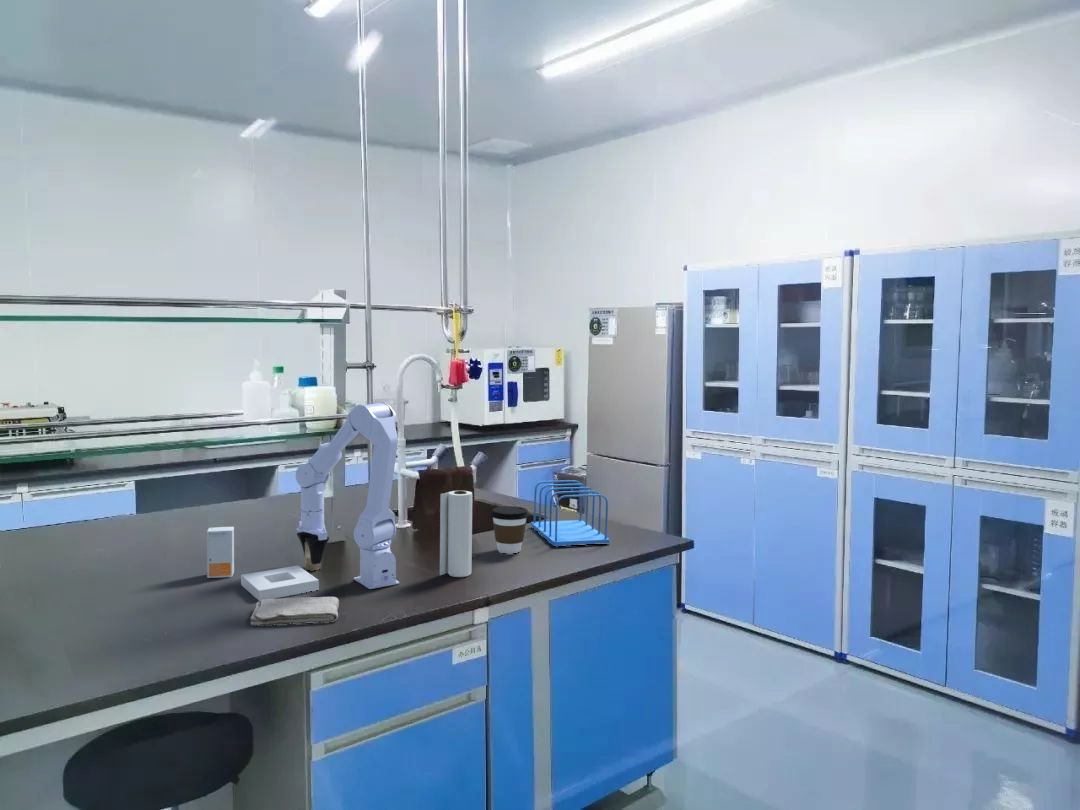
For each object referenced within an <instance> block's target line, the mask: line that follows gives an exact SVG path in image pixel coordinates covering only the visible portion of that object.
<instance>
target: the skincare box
mask: <svg viewBox="0 0 1080 810" xmlns="http://www.w3.org/2000/svg"><path fill="white" fill-rule="evenodd" d="M234 573H235V526H217V527H216V526H215V527H208V529H207V530H206V578H207V579H211V578H212V579H215V578H216V579H217V578H219V579H221V578H233V575H234Z"/></svg>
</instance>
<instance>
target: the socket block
mask: <svg viewBox="0 0 1080 810" xmlns="http://www.w3.org/2000/svg"><path fill="white" fill-rule="evenodd" d="M240 585H241V586H242V587H243V588H244V589H245V590H246V591H247V592H248V593H250V594H251V596H253V597H254V598H255V599H257V602H260V601H261V600H263V599H281V598H284V597H285V598H286V597H290V595H291V596H294V595H295V596H296V595H301V593H302V594H307V593H311V592H310V591H312V592H317V591H316V590H318V591H319V590H320V580H319V579H318V578H316V577H315V576H313V574H311V573H309V571H307V570H305V568H302V567H301V566H300V565H293V566H287V567H281V568H276V569H275V568H274V569H268V570H263V571H256V572H250V573H245V574H244V573H242V574H240ZM306 592H307V593H306Z"/></svg>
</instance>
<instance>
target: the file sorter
mask: <svg viewBox="0 0 1080 810" xmlns="http://www.w3.org/2000/svg"><path fill="white" fill-rule="evenodd" d="M551 483H552V484H551ZM556 483H557V484H556ZM541 484H544V485H543V486H542V487H541V488H540V490H539V499H538V503H539V505H538V521H536V519H537V518H536V517H537V492H538V491H537V489H538V487H539V485H541ZM574 486H575V487H574ZM547 487H548V488H549V487H552V488H549V489H548V490H547V491H546V492H545V494H544V514H543V516H544V518H543V521H542V519H541V518H542V517H541V516H542V493H543V490H544V489H545V488H547ZM557 490H560V491H557ZM561 490H563V491H561ZM565 490H566V491H565ZM568 490H569V491H568ZM551 491H556V492H554V493H552V495H551V496H550V498H549V499H550V500H549V521H548V520H547V507H548V506H547V502H548V494H549V493H550V492H551ZM584 493H585V494H584ZM590 493H591V494H590ZM559 494H566V495H562V496H560V497H558V499H557V500H556V502H555V516H554V517H555V519H554V520H555V521H554V520H553V521H552V516H553V515H552V511H553V498H554V497H555V496H556V495H559ZM583 497H586V500H585V502H586V503H585V521H584V520H583V519H582V516H583V515H582V512H583V511H582V510H583ZM589 497H592V505H591V506H592V509H591V510H592V511H591V513H592V514H591V525H590V524H588V515H589V513H588V512H589V510H588V509H589ZM595 497H598V523H597V524H598V525H597V526H598V527H597V529H596V528H594V527H595V526H594V525H595V502H596V501H595ZM564 498H580V499H579V500H580V503H579V519H578V520H576V519H575V520H558V512H559V511H558V510H559V508H558V507H559V502H560V501H561V500H562V499H564ZM602 498H603V499H604V501H605V519H604V521H605V523H604V534H603V533H602V532H601V520H602V519H601V517H602V516H601V512H602V510H601V509H602ZM608 510H609V501H608V499H607V497H606V496H605V495H604V494H600V493H599V492H598V491H596V490H593V488H591V487H589V486H586V484H584V483H581V482H580V481H579V480H577V479H576V480H574V479H573V480H572V479H571V480H568V479H566V480H541V481H539V482H537V483H536V485H535V487H534V501H533V521H531V522H530V527H531V526H532V527H533V528H534V529H535V530H536V531H538V532H539V533H540V534H541V535H542V536H543V537H544V538H545V539H546V540H547V541H546V540H545V539H544V538H543V537H542V536H541V535H540V534H539V535H540V536H541V537H542V538H543V539H544V540H545V541H546V542H548V543H549V542H550V543H551V544H552V545H553V546H563V545H579V544H595V543H609V544H610V538H608V516H609V514H608V513H609V511H608ZM532 527H531V528H532ZM533 528H532V529H533ZM534 529H533V530H534ZM535 530H534V531H535ZM536 531H535V532H536ZM550 543H549V544H550ZM551 544H550V545H551ZM552 545H551V546H552ZM553 546H552V547H553Z"/></svg>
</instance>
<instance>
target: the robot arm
mask: <svg viewBox="0 0 1080 810" xmlns="http://www.w3.org/2000/svg"><path fill="white" fill-rule="evenodd" d="M396 419H397V413H396V412H395V411H394V409H393V408H392V407H391V405H390V404H389V403H386V402H380V401H379V402H378V403H370V404H357V405H355V406H354V407H352V409H351V411H350V412H349V413H348V414H347V415H346V419H345V422H343V424H342V426H341V427H340V428H339V430H338V431H337V433H336V434H335V435H334V437H333V438H332V440H331V441H330V442H325V443H321V444H319V445H318V447H317V451H316V452H314V454H313V456H311V457H309V459H308V462H306V463H305V464H300V465H298V467H297V469H296V471H295V480H296V482H297V484H298V485H299V486H300V520H299V521H298V526H297V527H296V531H297V533H296V536H297V538H298V539H299V541H300V544H301V547H302V552H303V556H304V557H305V542H307V544H308V546H309V550H310V557H311V562H312V564H319V563H321V564H322V559H323V554H324V550H325V549H326V548H325V547H326V545H327V544H328V542H329V540H330V537H329V536H328V531H327V530H326V526H325V489H326V486H327V485H326V484H327V482H328V480H329V477H330V472H331V471H332V470H333V469H334V467H335V466H336V465H337V464H338V462H339V461H340V460H341V459H342V458H343V457H342V455H343V454H342V451H343V449H345V447H346V446H348V444H350V443H351V442H352V441H353V439H354V438H355V437H356V436H357V435H359V433H360V434H361V435H362V436H364V438H366V439H367V440H369V441H370V442H371V443H372V446H373V452H372V459H371V465H370V466H371V467H370V475H369V482H368V489H367V497H366V506H365V508H364V509H363V511H361V513H360V515H359V516H358V521H357V524H356V525H355V527H354V529H353V539H354V541H355V543H356V545H357V546H358V549H359V552H360V553H359V557H360V558H359V569H360V570H359V576H356V577H353V580H355V581H356V582H357V583H359V584H361V585H363V586H364V587H365V588H367V589H369V590H372V589H378V588H379V589H380V588H383V587H390V586H395V585H399V584H400V581H399V580H397V559H396V557H395V554H394V553H393V552H392V550H391V545H392V540H393V539H394V538H395V536H396V534H397V526H396V522H395V521H396V519H395V517H396V514H395V513H394V512H393V510H391V509H390V504H391V497H392V489H393V482H394V474H395V465H396V459H397V458H396V457H397V451H398V443H399V437H398V432H397V428H396Z"/></svg>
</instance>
